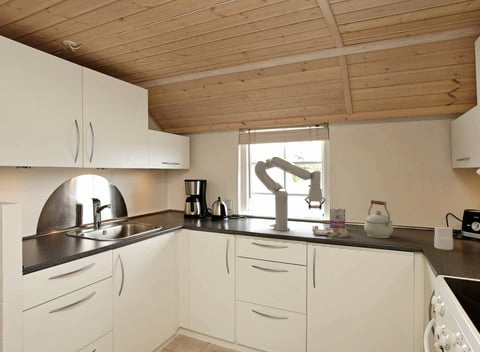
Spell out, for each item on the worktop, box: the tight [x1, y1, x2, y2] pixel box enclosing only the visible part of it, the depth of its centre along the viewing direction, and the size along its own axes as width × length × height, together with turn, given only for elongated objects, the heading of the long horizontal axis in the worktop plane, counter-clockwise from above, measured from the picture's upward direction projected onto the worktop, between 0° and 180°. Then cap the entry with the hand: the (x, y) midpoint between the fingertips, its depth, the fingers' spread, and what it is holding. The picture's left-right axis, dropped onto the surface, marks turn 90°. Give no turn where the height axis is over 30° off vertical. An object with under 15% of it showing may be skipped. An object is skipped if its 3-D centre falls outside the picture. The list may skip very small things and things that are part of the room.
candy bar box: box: [329, 207, 346, 229], centre depth 224 cm, size 11×5×16 cm, turn 62°
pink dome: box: [310, 204, 320, 209], centre depth 216 cm, size 7×7×2 cm
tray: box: [312, 225, 333, 236], centre depth 202 cm, size 14×14×4 cm
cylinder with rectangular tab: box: [433, 226, 454, 251], centre depth 166 cm, size 9×9×12 cm
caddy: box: [325, 227, 350, 239], centre depth 200 cm, size 14×14×4 cm
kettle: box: [363, 199, 394, 239], centre depth 199 cm, size 25×18×25 cm
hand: (314, 209), depth 216 cm, fingers closed on pink dome, 7 cm apart
